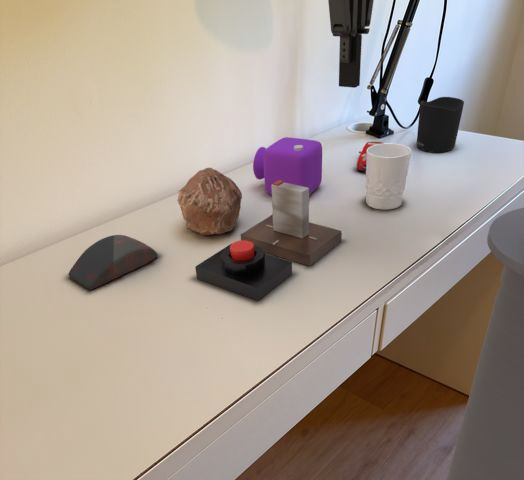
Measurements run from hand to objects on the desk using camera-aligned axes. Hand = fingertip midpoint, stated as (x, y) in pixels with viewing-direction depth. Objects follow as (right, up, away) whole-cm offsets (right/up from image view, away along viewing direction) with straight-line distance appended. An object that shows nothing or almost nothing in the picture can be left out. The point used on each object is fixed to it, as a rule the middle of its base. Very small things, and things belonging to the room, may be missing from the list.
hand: (349, 85), depth 79 cm
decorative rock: (-22, -17, +18) cm, 33 cm away
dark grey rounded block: (-37, -26, +8) cm, 46 cm away
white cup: (+10, -11, +23) cm, 28 cm away
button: (-16, -25, +2) cm, 30 cm away
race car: (+11, +2, +40) cm, 41 cm away
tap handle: (-8, -20, +10) cm, 24 cm away
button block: (-16, -28, +4) cm, 32 cm away
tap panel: (-8, -21, +12) cm, 25 cm away
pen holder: (+28, +8, +46) cm, 55 cm away
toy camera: (-8, -7, +30) cm, 32 cm away
